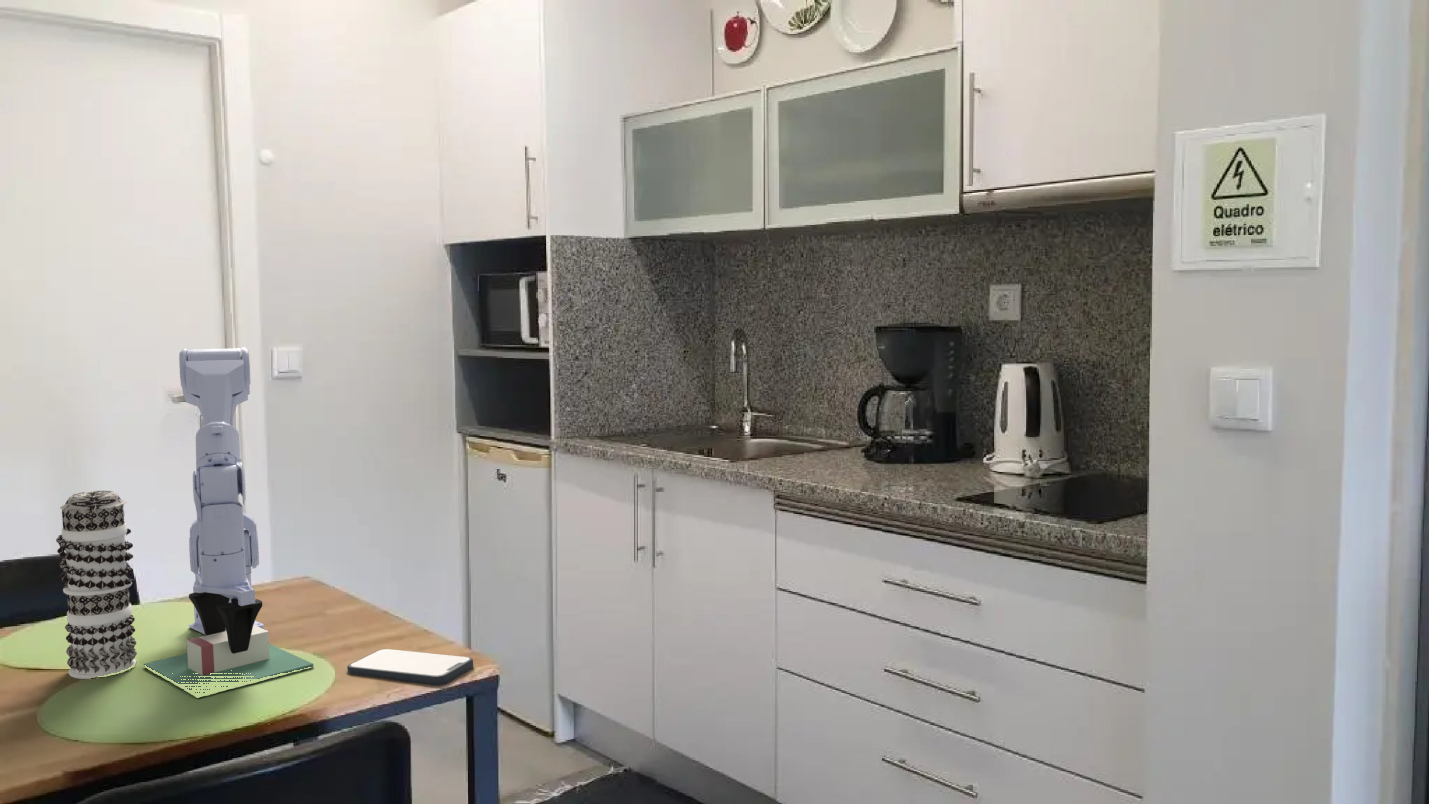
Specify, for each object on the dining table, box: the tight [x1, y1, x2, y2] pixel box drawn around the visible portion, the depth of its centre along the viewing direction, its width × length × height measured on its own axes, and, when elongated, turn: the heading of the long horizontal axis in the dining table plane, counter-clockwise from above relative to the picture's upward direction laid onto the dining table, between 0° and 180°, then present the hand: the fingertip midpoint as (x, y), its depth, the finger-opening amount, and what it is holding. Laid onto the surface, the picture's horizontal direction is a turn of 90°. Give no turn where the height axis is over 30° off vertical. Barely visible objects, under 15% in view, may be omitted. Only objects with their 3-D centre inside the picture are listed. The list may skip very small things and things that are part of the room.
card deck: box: [186, 625, 270, 676], centre depth 156 cm, size 10×5×4 cm, turn 137°
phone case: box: [346, 648, 474, 686], centre depth 156 cm, size 9×2×16 cm
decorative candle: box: [55, 490, 138, 680], centre depth 155 cm, size 9×9×25 cm
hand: (227, 645), depth 156 cm, fingers open, 7 cm apart
